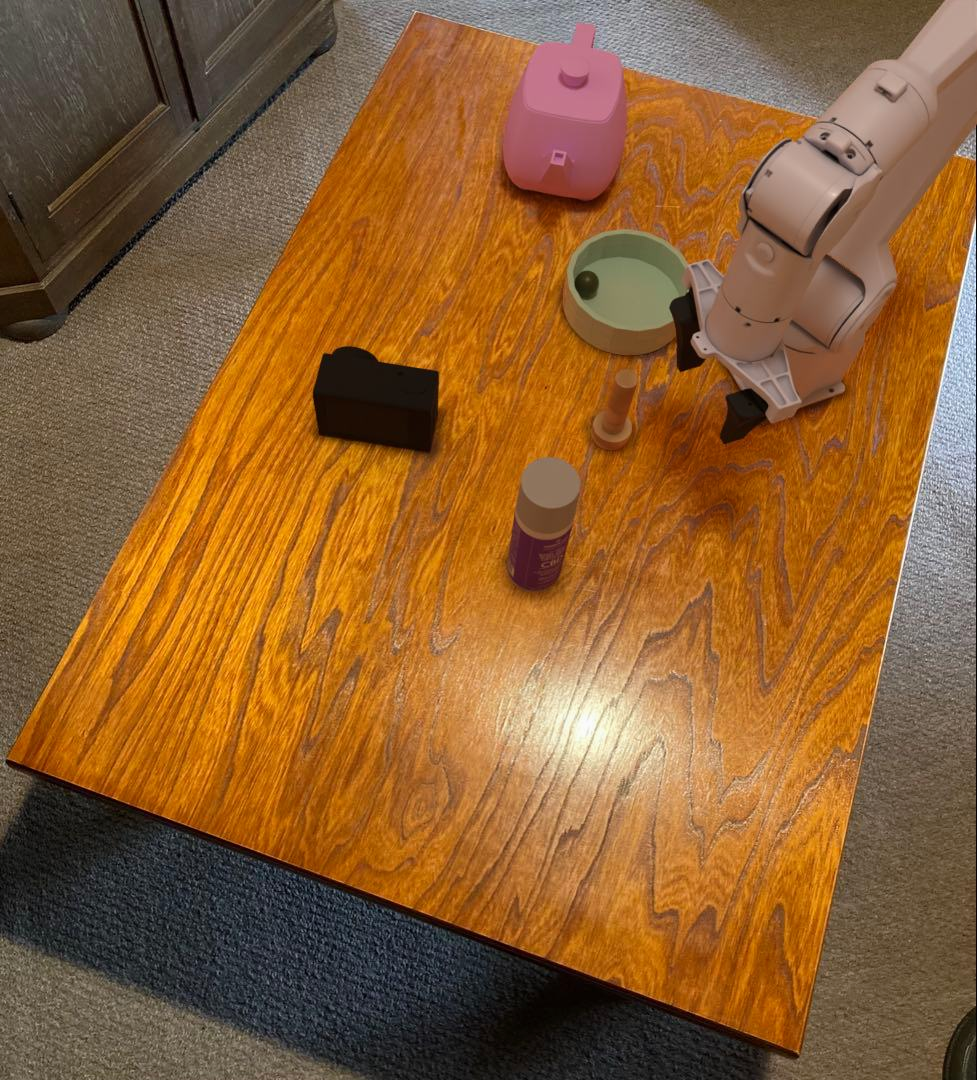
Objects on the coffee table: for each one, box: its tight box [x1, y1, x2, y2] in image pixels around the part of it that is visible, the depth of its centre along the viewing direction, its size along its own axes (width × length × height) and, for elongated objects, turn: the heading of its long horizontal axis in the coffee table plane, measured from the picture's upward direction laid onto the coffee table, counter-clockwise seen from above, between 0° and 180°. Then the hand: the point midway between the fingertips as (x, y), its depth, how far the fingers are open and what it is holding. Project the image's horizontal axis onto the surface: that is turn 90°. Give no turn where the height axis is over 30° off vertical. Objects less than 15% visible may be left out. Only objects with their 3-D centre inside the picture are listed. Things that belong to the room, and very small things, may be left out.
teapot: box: [502, 21, 628, 202], centre depth 108 cm, size 20×12×13 cm, turn 169°
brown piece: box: [590, 368, 639, 452], centre depth 96 cm, size 4×4×9 cm
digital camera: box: [312, 345, 440, 453], centre depth 96 cm, size 10×5×7 cm, turn 81°
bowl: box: [562, 228, 689, 356], centre depth 105 cm, size 12×12×4 cm
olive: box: [574, 271, 599, 296], centre depth 105 cm, size 2×2×2 cm
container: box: [506, 456, 581, 594], centre depth 87 cm, size 5×5×15 cm
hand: (710, 401), depth 89 cm, fingers open, 7 cm apart
